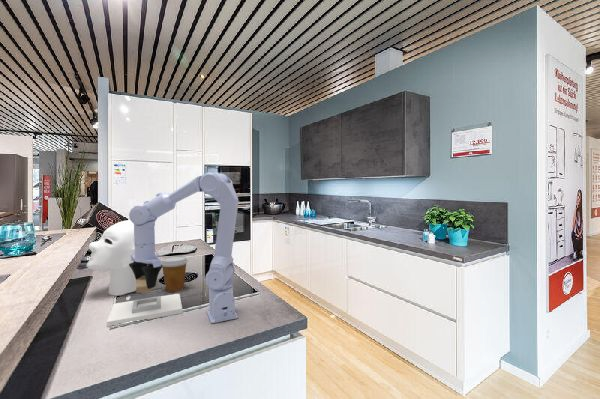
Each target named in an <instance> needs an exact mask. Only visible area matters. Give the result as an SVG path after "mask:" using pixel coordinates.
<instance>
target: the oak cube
mask: <svg viewBox="0 0 600 399" xmlns="http://www.w3.org/2000/svg"><path fill="white" fill-rule="evenodd" d="M154 289H156V286H155V287H153V288H150V289H148V288H147V284H146V278H145V276H142V277H140V278H138V279H137V280H136V291H135V292H136V293H137V294H138V293H145V294H146V293H148V294H149V293H151V292H152V291H154Z"/></svg>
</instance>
